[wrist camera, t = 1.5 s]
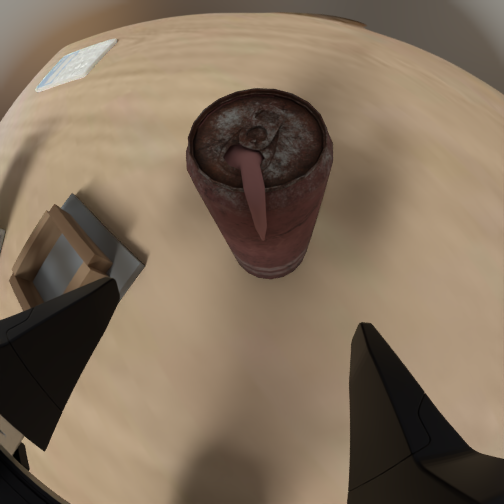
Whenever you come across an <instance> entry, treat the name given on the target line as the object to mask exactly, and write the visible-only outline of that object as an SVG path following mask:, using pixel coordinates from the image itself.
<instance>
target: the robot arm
mask: <svg viewBox="0 0 504 504" xmlns="http://www.w3.org/2000/svg"><path fill="white" fill-rule="evenodd" d="M119 300H120V293H119V289H118V285H117V282H116V280H115V279H114V278H111V277H103V278H101V279H98V280H96V281H94V282H91V283H89V284H86V285H84V286H81V287H79V288H77V289H74V290H72V291H70V292H67V293H65V294H62V295H60V296H58V297H55V298H53V299H51V300H48V301H46V302H44V303H41V304H39V305H37V306H35V307H32V308H30V309H28V310H25V311H23V312H21V313H18V314H16V315H13V316H11V317H8V318H5V319H3V320H0V504H70V503H69V502H67V501H66V500H64V499H63V498H61V497H60V496H59V495H57V494H56V493H55V492H53V491H52V490H51V489H49V488H48V487H47V486H46V485H44V484H43V483H42V482H41V481H39V480H38V479H37V478H36V477H35V476H33V475H32V474H31V473H30V472H29V470H30V468H29V464H28V459H27V454H26V449H25V445H24V444H23V443H22V442H21V441H22V440H23V438H24V436H25V437H26V438H27V439H29V440H30V441H31V442H32V443H34V444H35V445H36V446H38V447H39V448H40V449H42V450H43V451H45V450H46V449H47V446H48V444H49V441H50V439H51V437H52V434H53V432H54V430H55V427H56V425H57V423H58V421H59V418H60V416H61V414H62V411H63V410H64V407H65V405H66V403H67V401H68V399H69V397H70V395H71V393H72V391H73V389H74V387H75V385H76V383H77V381H78V379H79V377H80V375H81V373H82V372H83V370H84V368H85V366H86V364H87V362H88V360H89V359H90V357H91V355H92V353H93V351H94V350H95V348H96V346H97V344H98V343H99V341H100V339H101V337H102V336H103V334H104V332H105V330H106V328H107V326H108V324H109V322H110V319H111V317H112V315H113V313H114V311H115V309H116V307H117V305H118V303H119ZM349 397H350V467H349V487H348V491H349V492H348V499H347V504H504V459H502V458H497V457H493V456H489V455H485V454H482V453H479V452H477V451H475V450H473V449H472V448H471V447H470V446H469V445H468V444H467V443H466V442H465V441H464V440H463V439H462V437H461V436H460V435H459V434H458V433H457V432H456V430H455V429H454V428H453V427H452V426H451V425H450V424H449V422H448V421H447V420H446V419H445V418H444V416H443V415H442V414H441V413H440V412H439V410H438V409H437V408H436V406H435V405H434V404H433V403H432V401H431V400H430V398H429V397H428V396H427V394H426V393H425V394H424V390H423V389H422V388H421V386H420V385H419V384H418V382H417V381H416V380H415V378H414V377H413V376H412V374H411V373H410V372H409V370H408V369H407V368H406V366H405V365H404V364H403V363H402V361H401V360H400V359H399V357H398V356H397V355H396V354H395V352H394V351H393V350H392V348H391V347H390V346H389V345H388V343H387V342H386V341H385V340H384V338H383V337H382V336H381V335H380V333H379V332H378V331H377V330H376V328H375V327H374V326H373V325H372V324H371V323H364V322H361V323H359V325H358V327H357V329H356V332H355V334H354V336H353V339H352V343H351V360H350V376H349Z"/></svg>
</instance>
